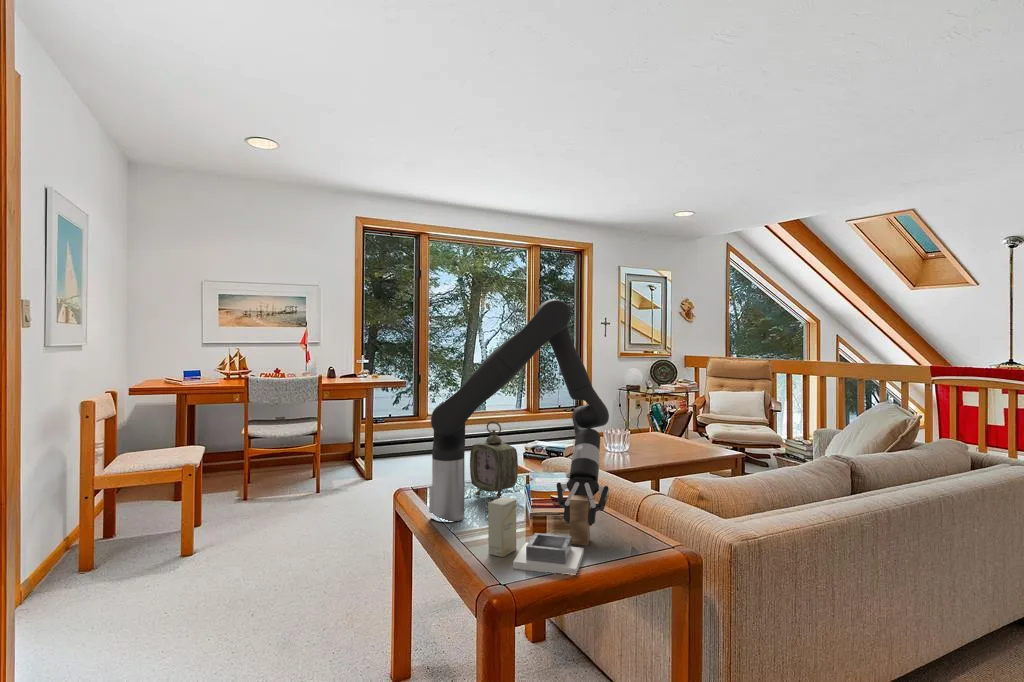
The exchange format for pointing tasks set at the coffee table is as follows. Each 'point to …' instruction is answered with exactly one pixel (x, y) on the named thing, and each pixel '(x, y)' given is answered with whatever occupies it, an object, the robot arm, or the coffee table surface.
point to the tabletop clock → (493, 464)
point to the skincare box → (502, 526)
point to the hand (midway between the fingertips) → (578, 523)
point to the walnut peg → (579, 519)
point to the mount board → (549, 554)
